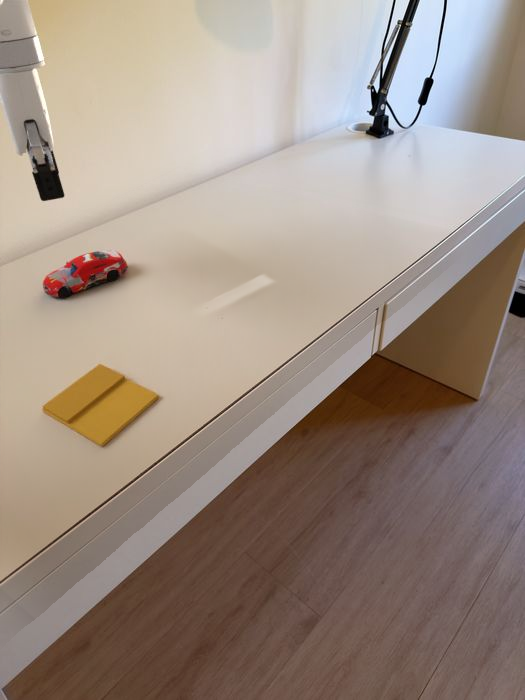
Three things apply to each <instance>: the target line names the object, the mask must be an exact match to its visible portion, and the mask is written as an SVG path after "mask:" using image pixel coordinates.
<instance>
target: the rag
mask: <svg viewBox="0 0 525 700" xmlns="http://www.w3.org/2000/svg"><path fill="white" fill-rule="evenodd" d="M159 398H160V396H159V394H158V393H156V392H154V391H152V390H150V389H148V388H146V387H144V386H142V385H140V384H139V383H136V382H134V381H132V380H130V379H128V378H126V376H125V375H124V374H121V373H120V372H118V371H115V370H113V369H111V368H109V367H108V366H106V365H104V364H101V363H99V364H97V365H96V366H95V367H93V368H92V369H90V370H89V371H88V372H87V373H85V374H84V375H82V376H81V377H79V378H78V379H77V380H76V381H74V382H73V383H72V384H70V385H69V386H67V387H66V388H65V389H63V390H62V391H61V392H59V393H58V394H56V395H55V396H54V397H53V398H51V399H50V400H48V401H47V402H46V403H44V404H43V405H42V408H41V411H42V412H43V413H45V415H47V416H49V417H51V418H52V419H54V420H56V421H58V422H59V423H61V424H62V425H64V426H66V427H67V428H69V429H70V430H73V431H74V432H76V433H78V434H79V435H80V436H82V437H84V438H85V439H87V440H89V441H91V442H92V443H94V444H96V445H97V446H99V447H101V448H102V447H104V446H105V445H106V444H107V443H108V442H109V441H111V440H112V439H113V438H114V437H115V436H116V435H118V434H119V433H120V432H121V431H123V429H125V428H126V427H127V426H128V425H129V424H130V423H131V422H132V421H134V420H135V419H136V418H137V417H139V416H140V414H141V413H143V412H144V411H145V410H146V409H147V408H149V407H150V406H151V405H152V404H154V402H155V401H156V400H158V399H159Z"/></svg>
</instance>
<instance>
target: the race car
mask: <svg viewBox="0 0 525 700" xmlns="http://www.w3.org/2000/svg"><path fill="white" fill-rule="evenodd" d="M128 269H129V266H128V263H127V261H126V259H125V258H124V257H123V255H122V254H121V253H120V252H119V251H117V250H97V251H92V252H88V253H84V254H81V255H79V256H76V257H74V258H72V259H71V260H70V261H66V264H65V265H63V266H62V267H60V268H58V269H56V270H54V271H51V272H50V273H49V274H47V275H46V276H45V277H44V278H43V279H44V280H43V281H42V289H43V291H44V293H45V294H47V295H48V296H50V297H55V298H56V297H57V298H59V297H61V298H62V299H67V298H68V297H70V296H71V294H72V293H77V292H80V291H83V290H86V289H89V288H91V287H94V286H96V285H97V286H98V285H100V284H103V283H105V282H108V281H109V282H114V281H115V282H116V280H118V278H119V276H123V275H124V274H125V273H127V271H128Z"/></svg>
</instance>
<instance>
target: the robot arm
mask: <svg viewBox="0 0 525 700" xmlns="http://www.w3.org/2000/svg"><path fill="white" fill-rule="evenodd" d="M44 66H46V62H45V59H44V55H43V52H42V48H41V44H40V40H39V37H38V32H37V29H36V25H35V21H34V18H33V13H32V11H31V7H30V3H29V0H0V104H1V107H2V110H3V114H4V116H5V120H6V123H7V126H8V129H9V132H10V136H11V139H12V143H13V145H14V149H15V152H16V154H17V155H18V156H22V157H23V156H24V154H26V153H27V155H28V158H29V161H30V165H31V168H32V169H31V170H32V171H31V175H32V177H33V179H34V182H35V186H36V189H37V192H38V195H39V198H40V200H41V201H42V202H48V201H53V200H58V199H63V198H64V197H65V192H64V187H63V184H62V182H61V178H60V174H59V173H60V171H59V167H58V165H57V161H56V158H55V154H54V149H55V143H54V137H53V132H52V125H51V120H50V115H49V111H48V107H47V102H46V99H45V95H44V92H43V88H42V84H41V79H40V77H39V73H38V70H37V69H39V68H42V67H44Z"/></svg>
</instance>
